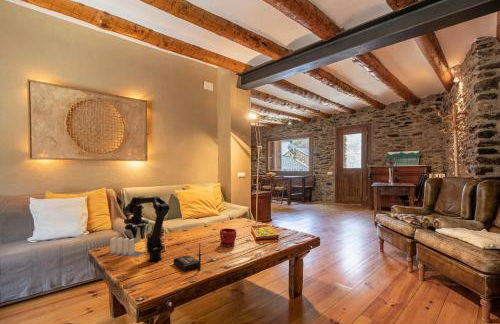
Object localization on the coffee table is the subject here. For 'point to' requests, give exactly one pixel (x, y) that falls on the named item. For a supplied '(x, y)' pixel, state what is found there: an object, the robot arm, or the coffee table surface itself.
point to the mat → (127, 253)
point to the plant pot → (227, 237)
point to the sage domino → (137, 236)
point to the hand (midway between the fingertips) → (137, 236)
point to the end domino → (113, 244)
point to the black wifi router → (188, 262)
